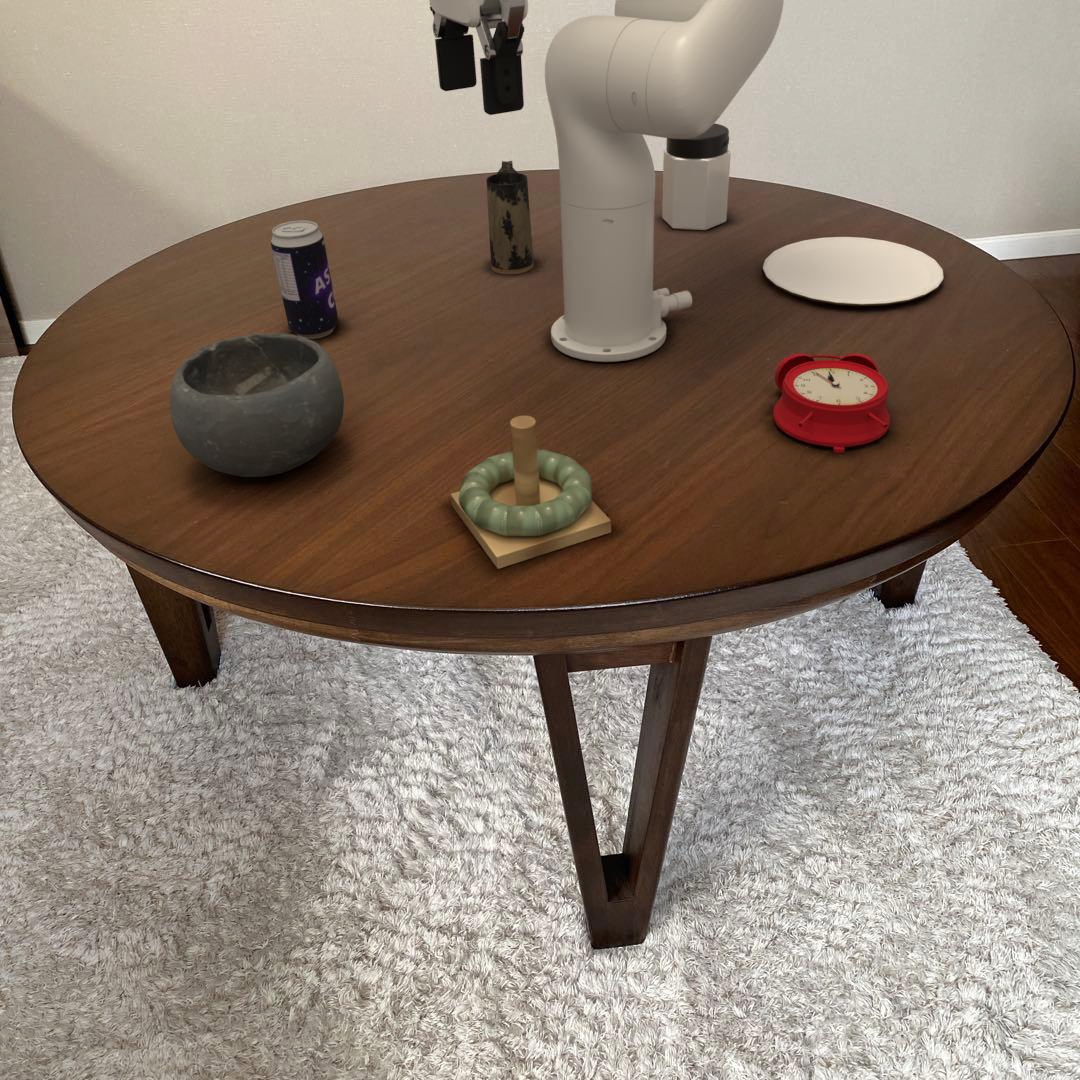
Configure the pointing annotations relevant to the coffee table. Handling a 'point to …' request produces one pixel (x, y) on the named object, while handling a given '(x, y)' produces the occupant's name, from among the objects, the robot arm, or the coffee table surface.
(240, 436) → the bowl
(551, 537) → the stand
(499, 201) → the rusty spray can
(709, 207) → the jar
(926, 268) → the plate
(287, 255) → the beverage can
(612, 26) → the robot arm
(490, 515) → the ring
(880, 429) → the alarm clock
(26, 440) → the coffee table surface
